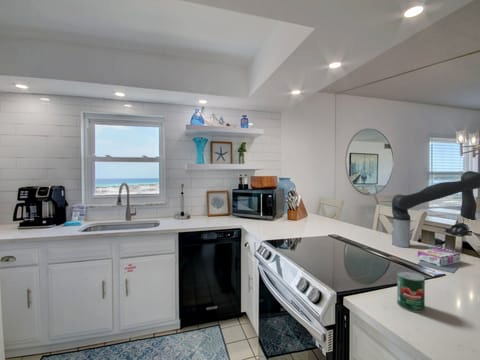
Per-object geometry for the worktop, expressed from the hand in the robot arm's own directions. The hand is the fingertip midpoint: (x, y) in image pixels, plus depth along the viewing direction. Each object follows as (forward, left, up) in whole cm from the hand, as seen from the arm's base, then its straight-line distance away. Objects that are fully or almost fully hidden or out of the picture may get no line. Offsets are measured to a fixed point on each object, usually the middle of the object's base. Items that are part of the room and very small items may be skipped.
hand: (453, 233), depth 134 cm
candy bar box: (-1, -9, -10) cm, 13 cm away
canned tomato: (+2, -79, -13) cm, 81 cm away
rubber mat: (-2, -21, -13) cm, 25 cm away
